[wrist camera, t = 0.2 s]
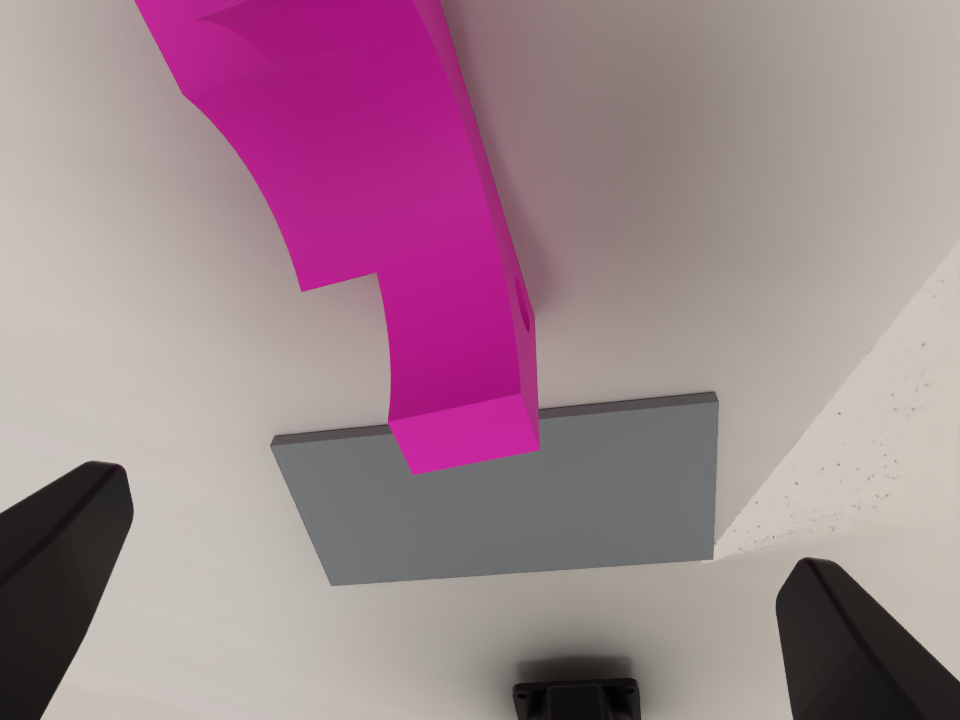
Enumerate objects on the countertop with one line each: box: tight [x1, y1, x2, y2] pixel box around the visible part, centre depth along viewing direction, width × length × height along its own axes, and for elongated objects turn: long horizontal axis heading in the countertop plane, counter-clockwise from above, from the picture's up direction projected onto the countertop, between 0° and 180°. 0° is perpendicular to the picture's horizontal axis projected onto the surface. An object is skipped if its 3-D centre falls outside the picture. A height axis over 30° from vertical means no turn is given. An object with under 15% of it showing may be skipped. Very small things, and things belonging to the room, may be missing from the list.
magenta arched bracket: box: [134, 0, 540, 475], centre depth 19 cm, size 15×6×8 cm, turn 17°
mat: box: [270, 392, 719, 586], centre depth 30 cm, size 9×18×1 cm, turn 99°
